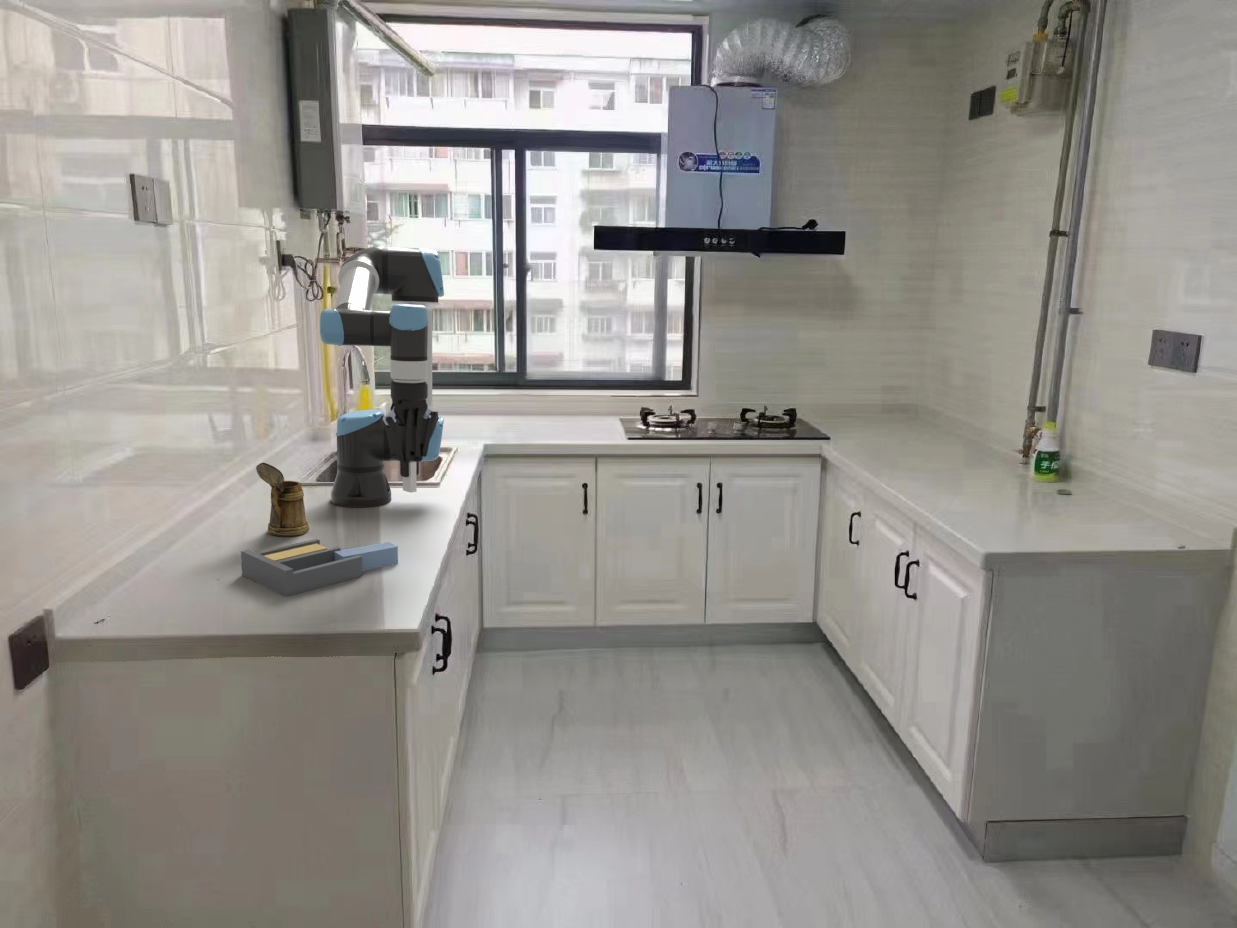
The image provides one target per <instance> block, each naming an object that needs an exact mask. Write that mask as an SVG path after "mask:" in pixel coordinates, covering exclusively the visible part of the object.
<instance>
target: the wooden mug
mask: <svg viewBox="0 0 1237 928" xmlns="http://www.w3.org/2000/svg"><path fill="white" fill-rule="evenodd" d="M255 468H256V469H255V471H256V473H257V475H258V476H259V478H260V479H261V480H262V481H263V482H265V483H266V484H268V485H269V486H270V487H271V489H270V504H271V506H270V514H269V515H270V516H269V523H268V524H267V533H268V534H269V535H271V536H275V537H285V538H287V537H297V536H302V535H305V534H306V533H309V532H308V531H309V530H310V527H309V522H308V521H307V520H308V519H307V514H306V509H305V502H304V496H305V494H304V489H303V487H302V483H301V482H299V481H294V480H285V477H284V475H283V473H282V471H281V470H279V469H278V468H276V467H275V466H273V465H271V464H269V463H266V462H261V463H259V464H258V465H256V467H255Z"/></svg>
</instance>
